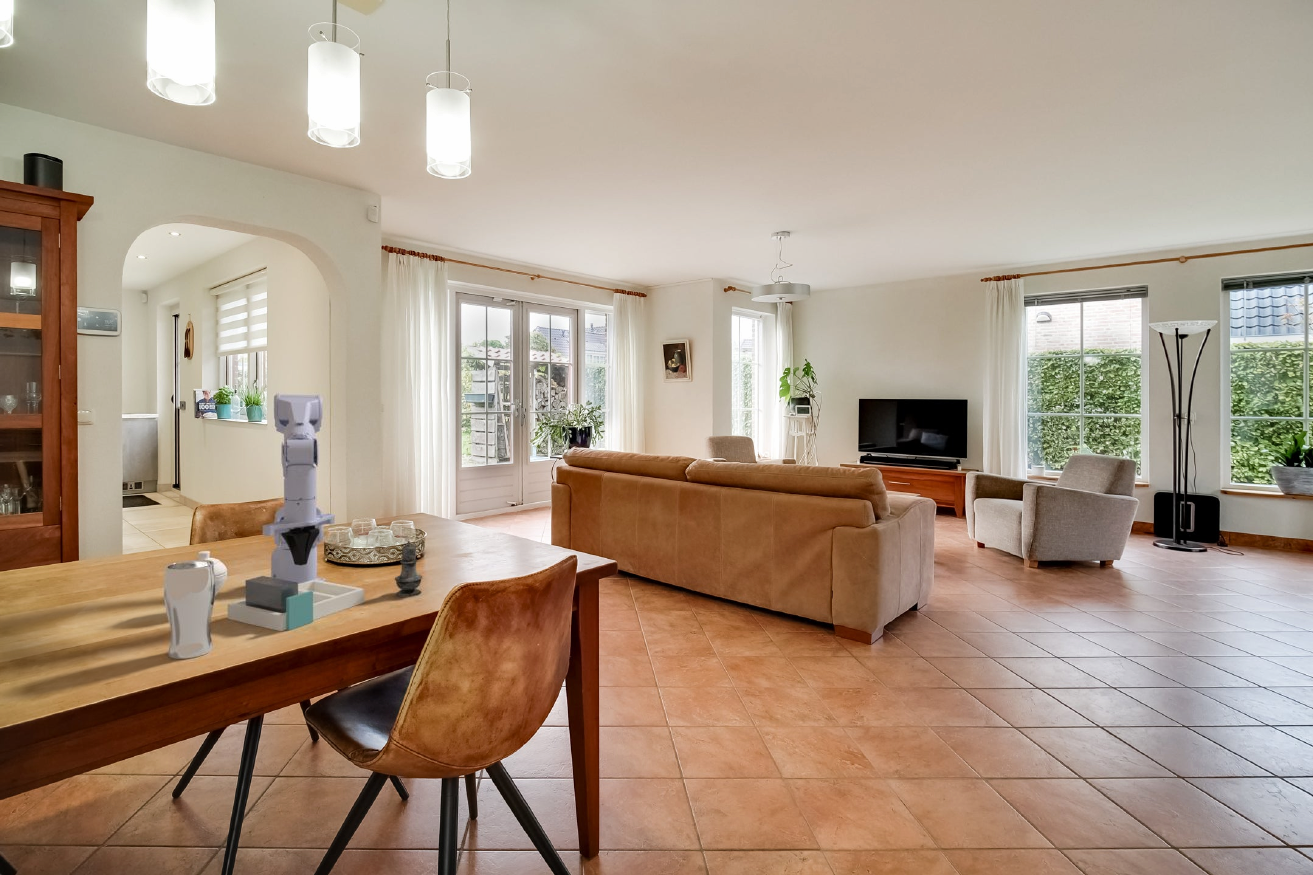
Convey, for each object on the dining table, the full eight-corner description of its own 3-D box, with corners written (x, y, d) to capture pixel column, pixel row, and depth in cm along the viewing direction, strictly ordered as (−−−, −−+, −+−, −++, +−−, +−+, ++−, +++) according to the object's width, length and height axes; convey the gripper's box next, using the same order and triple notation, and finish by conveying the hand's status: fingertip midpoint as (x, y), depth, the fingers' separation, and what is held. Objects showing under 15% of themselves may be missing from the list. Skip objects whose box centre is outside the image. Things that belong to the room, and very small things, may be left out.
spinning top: (236, 607, 129) (236, 549, 128) (198, 619, 122) (198, 557, 121) (210, 602, 131) (209, 545, 131) (171, 613, 124) (170, 553, 123)
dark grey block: (245, 615, 123) (245, 580, 122) (263, 610, 126) (262, 575, 126) (281, 623, 119) (281, 587, 119) (298, 617, 122) (298, 582, 122)
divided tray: (227, 618, 122) (227, 588, 122) (314, 592, 140) (314, 565, 139) (284, 632, 116) (284, 600, 116) (367, 602, 134) (367, 575, 133)
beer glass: (182, 644, 109) (181, 559, 109) (225, 643, 110) (224, 559, 109) (154, 660, 102) (152, 570, 102) (199, 660, 103) (198, 570, 102)
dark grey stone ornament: (412, 598, 138) (413, 544, 137) (388, 596, 139) (389, 542, 138) (427, 590, 143) (428, 538, 143) (404, 588, 144) (404, 536, 144)
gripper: (280, 505, 119) (280, 575, 120) (344, 495, 133) (344, 558, 133) (255, 501, 122) (255, 570, 123) (321, 492, 135) (321, 554, 136)
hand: (300, 564), depth 128 cm, fingers closed
